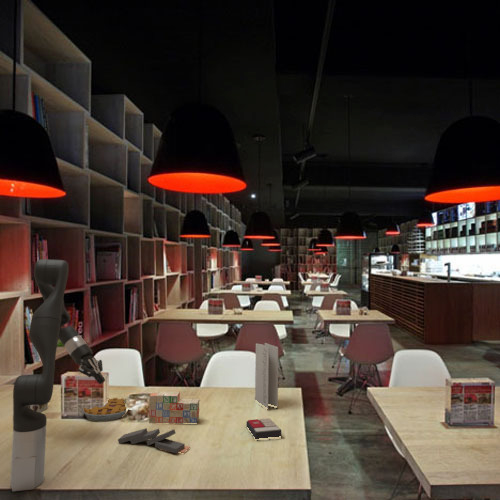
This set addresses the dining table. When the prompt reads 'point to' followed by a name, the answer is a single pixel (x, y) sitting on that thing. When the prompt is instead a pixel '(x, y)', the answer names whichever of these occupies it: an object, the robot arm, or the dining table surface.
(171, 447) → the domino
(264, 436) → the book
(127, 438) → the domino
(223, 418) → the dining table surface
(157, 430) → the domino
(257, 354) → the brochure
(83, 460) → the dining table surface
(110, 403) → the berry pie
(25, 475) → the robot arm
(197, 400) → the stack of blocks
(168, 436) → the domino
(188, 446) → the end domino
